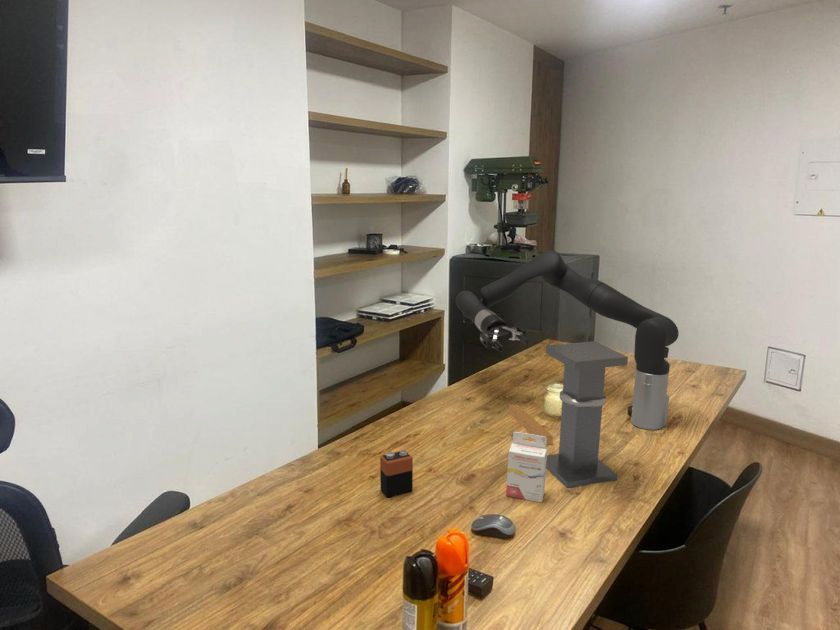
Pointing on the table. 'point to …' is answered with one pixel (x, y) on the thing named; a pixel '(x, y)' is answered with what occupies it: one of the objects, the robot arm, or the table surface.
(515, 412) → the bar
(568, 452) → the stand
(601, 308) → the robot arm
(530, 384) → the table surface
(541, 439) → the ink cartridge box
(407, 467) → the battery
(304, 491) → the table surface
